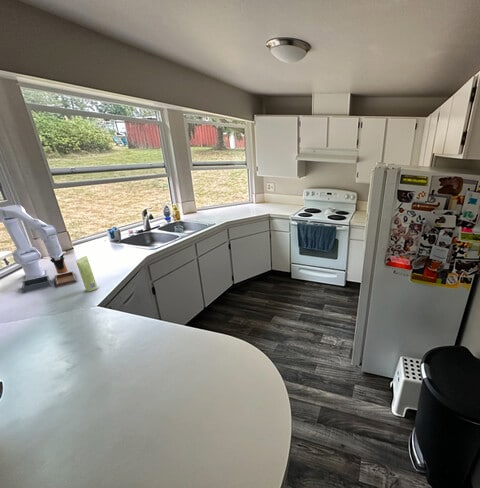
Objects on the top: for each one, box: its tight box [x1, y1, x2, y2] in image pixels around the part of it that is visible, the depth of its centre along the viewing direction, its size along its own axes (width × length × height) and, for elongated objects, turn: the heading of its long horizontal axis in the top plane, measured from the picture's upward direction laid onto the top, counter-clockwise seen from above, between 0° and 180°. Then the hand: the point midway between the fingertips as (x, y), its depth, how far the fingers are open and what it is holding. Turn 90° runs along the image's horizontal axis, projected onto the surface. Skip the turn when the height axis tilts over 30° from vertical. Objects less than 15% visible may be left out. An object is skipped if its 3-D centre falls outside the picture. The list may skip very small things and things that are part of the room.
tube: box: [75, 255, 98, 292], centre depth 140 cm, size 6×5×20 cm
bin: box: [21, 275, 52, 293], centre depth 144 cm, size 10×10×3 cm
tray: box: [54, 271, 77, 287], centre depth 151 cm, size 15×8×2 cm, turn 47°
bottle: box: [53, 257, 69, 275], centre depth 148 cm, size 4×4×10 cm
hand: (61, 267), depth 149 cm, fingers closed on bottle, 4 cm apart
